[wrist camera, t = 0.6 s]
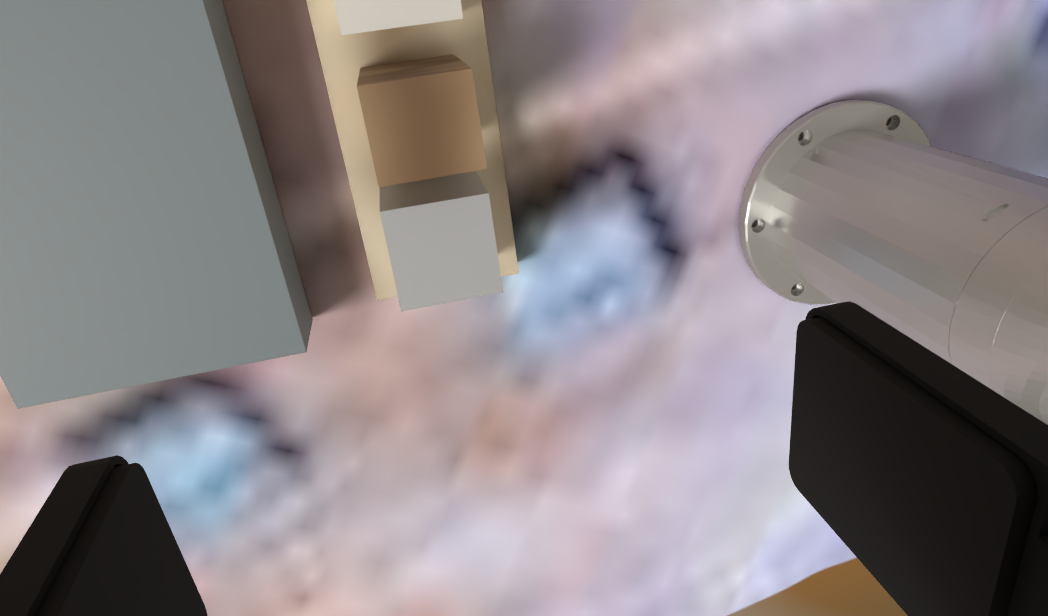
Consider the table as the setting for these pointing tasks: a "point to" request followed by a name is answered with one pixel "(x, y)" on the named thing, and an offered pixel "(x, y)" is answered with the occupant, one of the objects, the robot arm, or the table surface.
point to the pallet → (356, 131)
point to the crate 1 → (393, 13)
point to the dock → (134, 202)
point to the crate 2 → (440, 240)
